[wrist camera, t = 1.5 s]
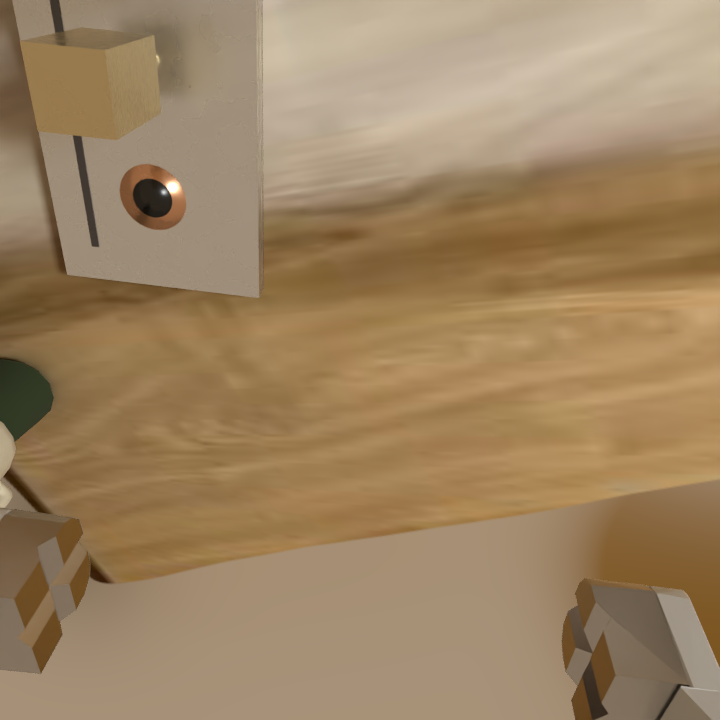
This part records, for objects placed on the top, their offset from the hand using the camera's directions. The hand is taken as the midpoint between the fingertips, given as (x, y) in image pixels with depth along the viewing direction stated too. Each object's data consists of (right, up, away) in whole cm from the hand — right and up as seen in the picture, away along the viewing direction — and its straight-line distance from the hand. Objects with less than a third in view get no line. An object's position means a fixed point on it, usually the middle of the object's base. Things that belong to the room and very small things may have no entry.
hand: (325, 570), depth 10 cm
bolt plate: (-12, +21, +28) cm, 37 cm away
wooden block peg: (-12, +21, +26) cm, 35 cm away
